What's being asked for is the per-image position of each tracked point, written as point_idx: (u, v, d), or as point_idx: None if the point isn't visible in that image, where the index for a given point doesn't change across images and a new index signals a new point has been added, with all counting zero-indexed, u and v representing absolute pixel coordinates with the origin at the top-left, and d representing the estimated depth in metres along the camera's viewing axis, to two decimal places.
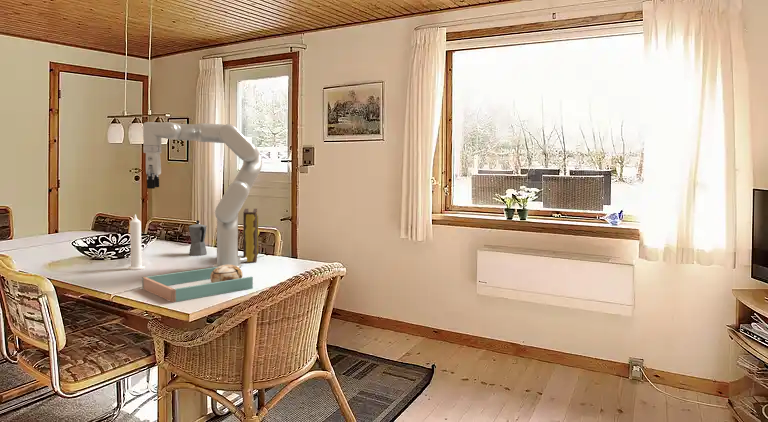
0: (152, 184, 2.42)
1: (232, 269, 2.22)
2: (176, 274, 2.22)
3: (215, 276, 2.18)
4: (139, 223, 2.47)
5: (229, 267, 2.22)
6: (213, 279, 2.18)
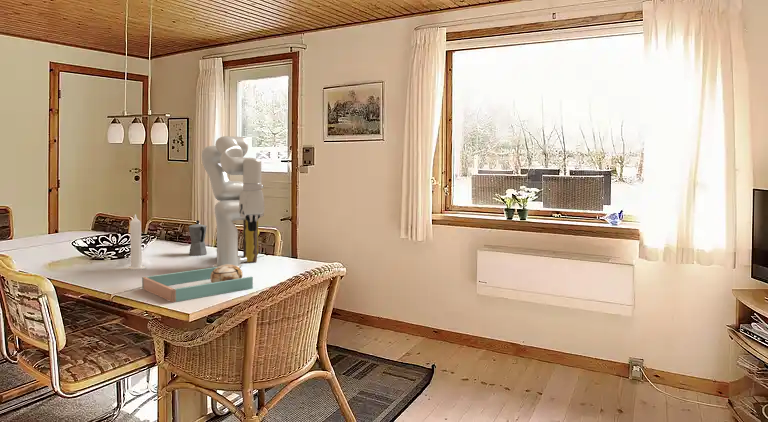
0: None
1: (232, 269, 2.22)
2: (176, 274, 2.22)
3: (215, 276, 2.18)
4: (139, 223, 2.47)
5: (229, 267, 2.23)
6: (213, 279, 2.18)
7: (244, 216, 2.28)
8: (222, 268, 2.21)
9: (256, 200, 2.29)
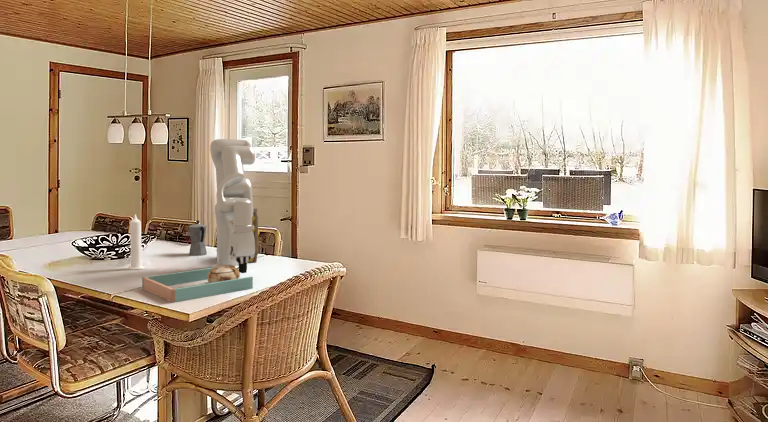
0: None
1: (229, 269, 2.21)
2: (176, 274, 2.22)
3: (212, 276, 2.17)
4: (139, 223, 2.47)
5: (226, 267, 2.22)
6: (210, 279, 2.18)
7: (235, 258, 2.26)
8: (219, 268, 2.20)
9: (247, 242, 2.28)
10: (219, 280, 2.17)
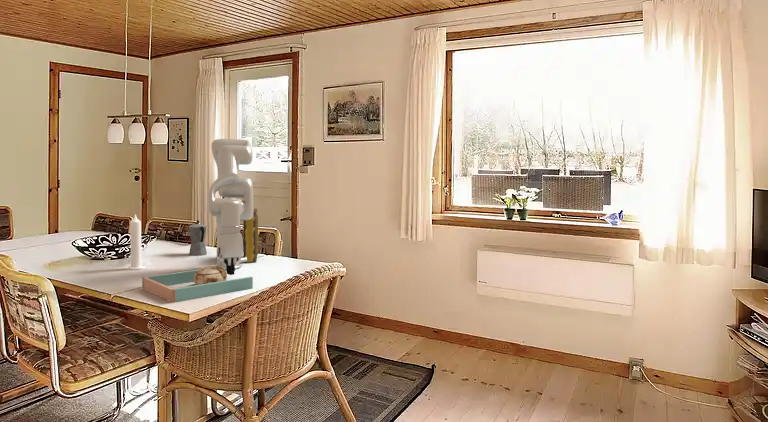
0: None
1: (216, 270, 2.19)
2: (176, 274, 2.22)
3: (198, 277, 2.14)
4: (139, 223, 2.47)
5: (213, 268, 2.19)
6: (196, 280, 2.15)
7: (222, 260, 2.22)
8: (206, 269, 2.17)
9: (234, 243, 2.23)
10: (206, 281, 2.14)
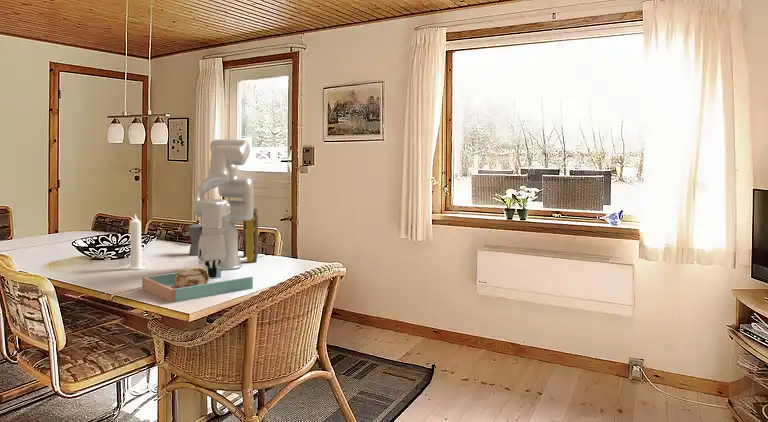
0: None
1: (198, 271, 2.16)
2: (176, 274, 2.22)
3: (180, 279, 2.11)
4: (139, 223, 2.47)
5: (195, 269, 2.16)
6: (178, 282, 2.12)
7: (203, 262, 2.16)
8: (187, 271, 2.14)
9: (216, 245, 2.18)
10: (187, 283, 2.11)
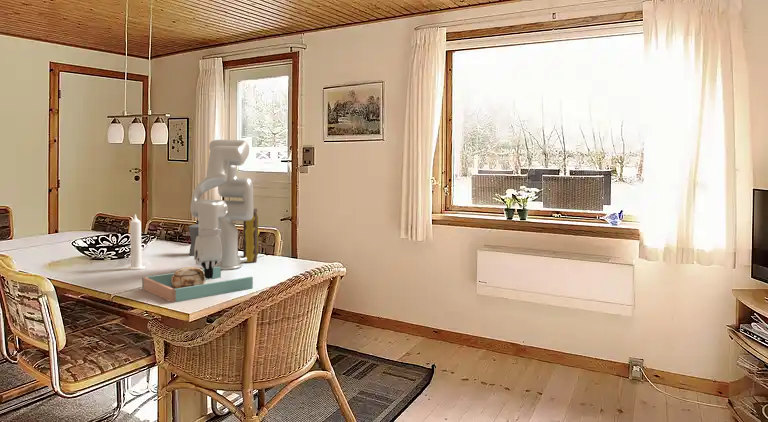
0: None
1: (194, 271, 2.15)
2: None
3: (176, 279, 2.11)
4: (139, 223, 2.47)
5: (191, 269, 2.16)
6: (174, 282, 2.11)
7: (199, 263, 2.15)
8: (183, 271, 2.14)
9: (212, 246, 2.17)
10: (183, 283, 2.11)
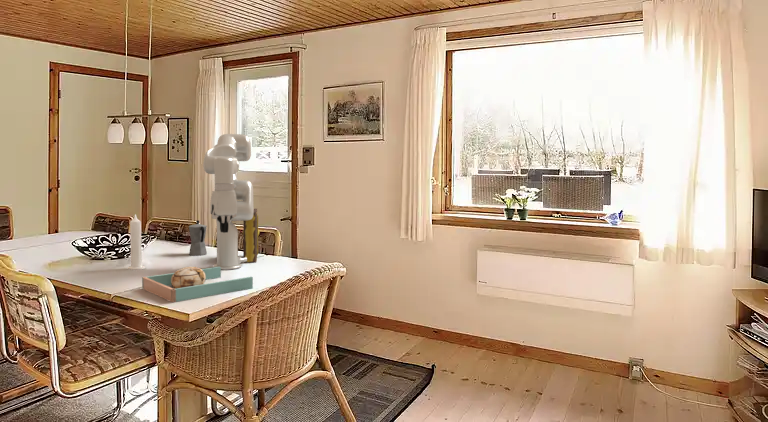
0: None
1: (194, 271, 2.15)
2: None
3: (175, 279, 2.11)
4: (139, 223, 2.47)
5: (191, 269, 2.16)
6: (173, 282, 2.12)
7: (216, 217, 2.21)
8: (183, 271, 2.14)
9: (228, 200, 2.22)
10: (182, 283, 2.11)
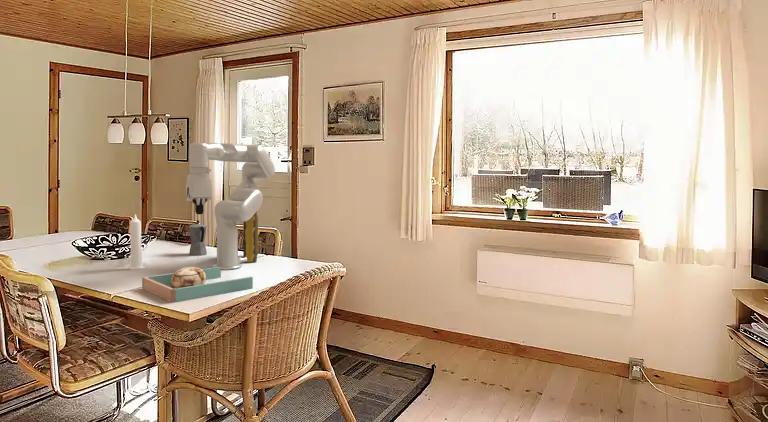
0: None
1: (194, 271, 2.15)
2: None
3: (175, 279, 2.11)
4: (139, 223, 2.47)
5: (191, 269, 2.16)
6: (173, 282, 2.12)
7: (191, 199, 2.33)
8: (183, 271, 2.14)
9: (203, 184, 2.34)
10: (182, 283, 2.11)
